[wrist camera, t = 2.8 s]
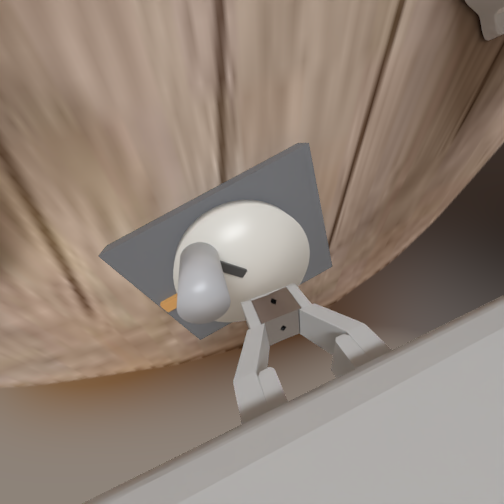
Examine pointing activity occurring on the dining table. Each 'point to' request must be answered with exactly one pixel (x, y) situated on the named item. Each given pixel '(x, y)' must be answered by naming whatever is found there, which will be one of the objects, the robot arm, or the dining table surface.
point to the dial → (236, 259)
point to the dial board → (178, 220)
